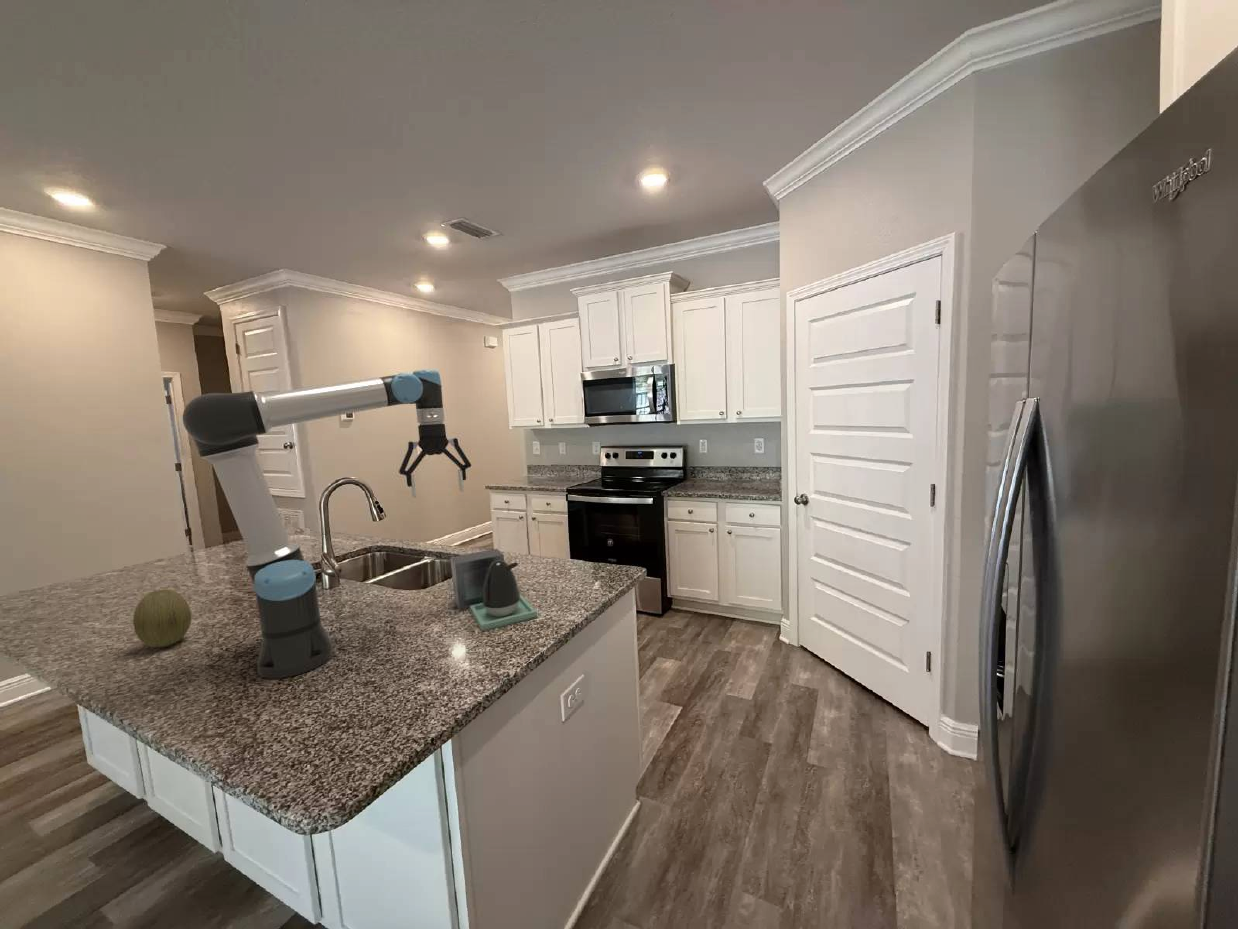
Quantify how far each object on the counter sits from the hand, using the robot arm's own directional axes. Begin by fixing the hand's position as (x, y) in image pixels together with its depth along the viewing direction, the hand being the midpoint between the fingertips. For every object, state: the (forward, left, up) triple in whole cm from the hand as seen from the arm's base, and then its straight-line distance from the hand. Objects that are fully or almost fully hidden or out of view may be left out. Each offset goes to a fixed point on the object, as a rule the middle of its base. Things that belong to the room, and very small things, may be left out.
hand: (438, 494), depth 149 cm
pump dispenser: (+11, -22, -32) cm, 41 cm away
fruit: (-70, +12, -33) cm, 78 cm away
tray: (+11, -22, -33) cm, 41 cm away
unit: (+8, -8, -33) cm, 35 cm away
